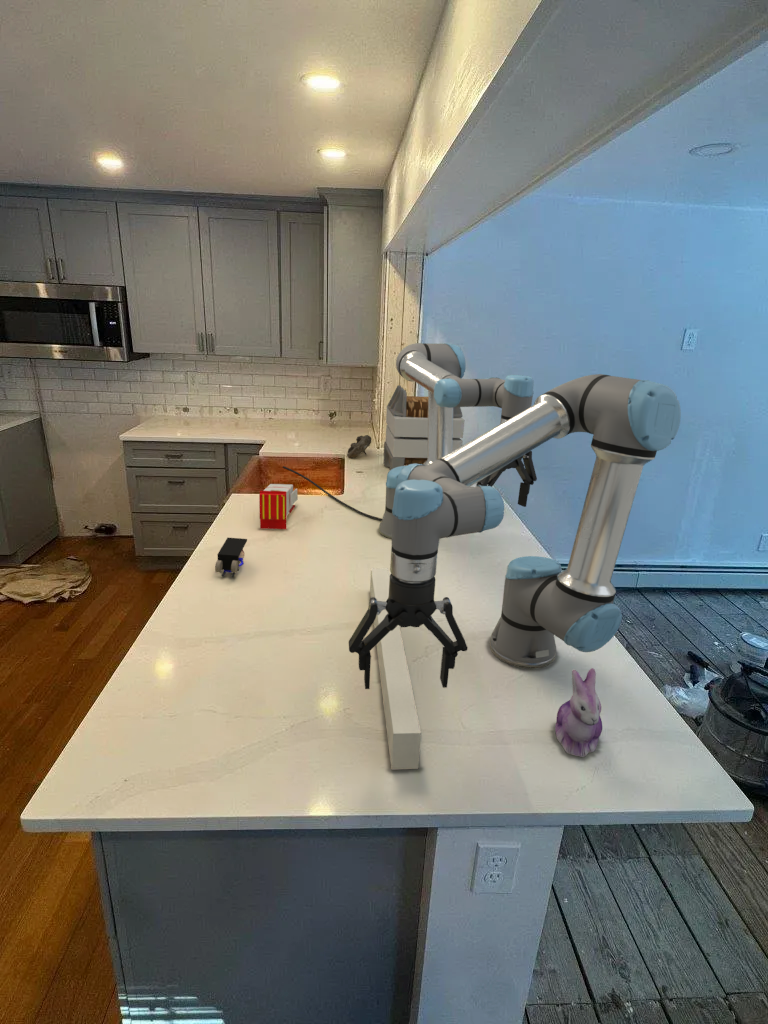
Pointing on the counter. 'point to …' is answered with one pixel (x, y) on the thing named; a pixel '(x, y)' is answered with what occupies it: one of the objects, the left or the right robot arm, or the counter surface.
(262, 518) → the toy
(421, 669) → the counter surface
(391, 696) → the beam
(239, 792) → the counter surface
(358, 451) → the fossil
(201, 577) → the counter surface
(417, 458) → the transformer
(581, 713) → the figurine
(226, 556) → the black wheeled rover
